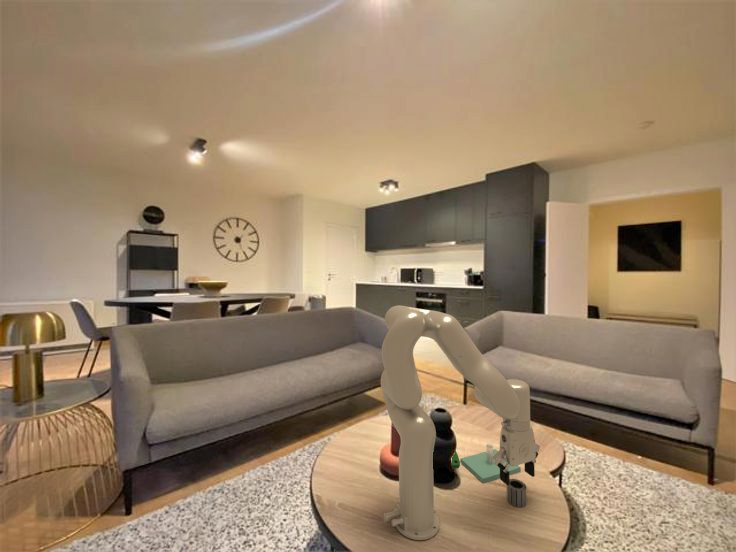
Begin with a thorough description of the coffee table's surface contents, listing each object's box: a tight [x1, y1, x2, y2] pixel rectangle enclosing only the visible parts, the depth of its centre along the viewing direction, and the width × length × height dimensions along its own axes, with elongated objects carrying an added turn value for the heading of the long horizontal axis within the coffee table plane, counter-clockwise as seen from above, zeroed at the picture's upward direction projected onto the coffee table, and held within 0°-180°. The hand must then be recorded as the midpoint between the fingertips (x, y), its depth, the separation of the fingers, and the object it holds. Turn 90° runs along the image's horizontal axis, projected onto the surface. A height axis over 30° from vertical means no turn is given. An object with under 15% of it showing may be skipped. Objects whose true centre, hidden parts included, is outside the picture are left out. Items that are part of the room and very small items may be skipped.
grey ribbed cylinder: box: [506, 478, 528, 508], centre depth 96 cm, size 5×5×5 cm
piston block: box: [459, 442, 522, 484], centre depth 112 cm, size 16×12×8 cm
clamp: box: [452, 450, 461, 470], centre depth 110 cm, size 12×6×9 cm, turn 85°
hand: (517, 478), depth 96 cm, fingers open, 9 cm apart
